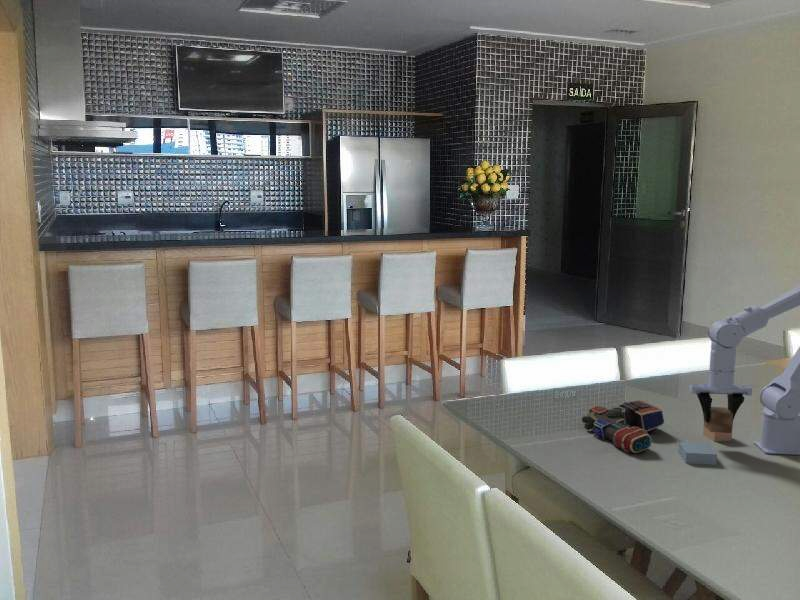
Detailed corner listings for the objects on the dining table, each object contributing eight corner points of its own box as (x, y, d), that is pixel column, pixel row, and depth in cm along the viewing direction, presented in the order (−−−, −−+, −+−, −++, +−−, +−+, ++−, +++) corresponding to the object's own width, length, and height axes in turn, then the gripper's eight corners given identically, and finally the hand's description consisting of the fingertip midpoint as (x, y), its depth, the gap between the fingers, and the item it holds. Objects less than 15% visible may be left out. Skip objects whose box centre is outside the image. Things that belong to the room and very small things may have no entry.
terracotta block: (720, 434, 191) (721, 416, 190) (731, 440, 186) (733, 422, 185) (702, 435, 190) (704, 417, 189) (714, 441, 185) (715, 423, 184)
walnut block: (724, 426, 182) (726, 407, 181) (731, 433, 177) (733, 413, 176) (703, 425, 182) (705, 406, 182) (710, 431, 178) (712, 412, 177)
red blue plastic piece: (625, 439, 173) (693, 413, 178) (571, 411, 197) (632, 388, 202) (631, 468, 175) (697, 441, 180) (576, 437, 199) (636, 414, 204)
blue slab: (707, 455, 176) (708, 444, 176) (716, 466, 170) (717, 454, 169) (678, 453, 177) (679, 442, 177) (685, 464, 170) (686, 452, 170)
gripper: (746, 366, 181) (742, 417, 183) (687, 364, 182) (683, 415, 184) (757, 373, 174) (752, 426, 176) (695, 371, 175) (692, 424, 177)
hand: (718, 421), depth 179 cm, fingers closed on walnut block, 5 cm apart
